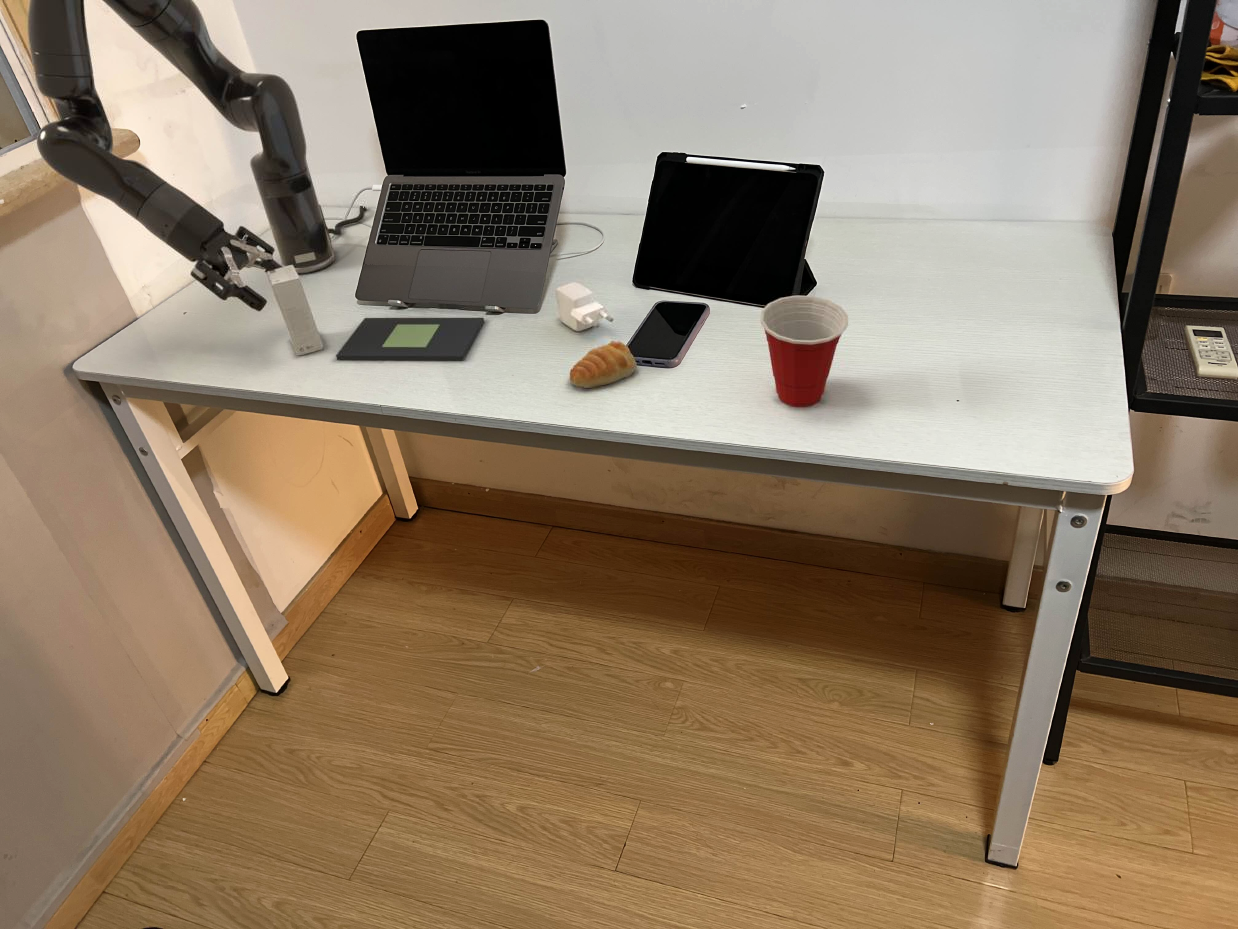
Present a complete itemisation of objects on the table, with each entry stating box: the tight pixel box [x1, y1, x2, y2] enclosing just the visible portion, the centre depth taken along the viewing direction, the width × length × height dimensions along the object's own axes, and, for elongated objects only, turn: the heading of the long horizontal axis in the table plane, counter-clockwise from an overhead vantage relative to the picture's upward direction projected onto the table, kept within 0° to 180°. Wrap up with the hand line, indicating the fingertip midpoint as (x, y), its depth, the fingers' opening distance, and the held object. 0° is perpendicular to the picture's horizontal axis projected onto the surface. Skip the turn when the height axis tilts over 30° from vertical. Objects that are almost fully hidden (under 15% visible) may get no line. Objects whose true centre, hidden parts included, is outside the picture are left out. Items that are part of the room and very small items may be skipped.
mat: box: [335, 317, 485, 362], centre depth 142 cm, size 12×20×1 cm, turn 81°
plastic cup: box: [759, 295, 849, 408], centre depth 117 cm, size 11×11×12 cm
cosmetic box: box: [266, 265, 324, 356], centre depth 140 cm, size 6×4×12 cm
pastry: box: [569, 340, 638, 389], centre depth 128 cm, size 9×7×4 cm
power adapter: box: [555, 281, 614, 332], centre depth 139 cm, size 11×5×6 cm, turn 33°
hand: (276, 293), depth 139 cm, fingers open, 8 cm apart
